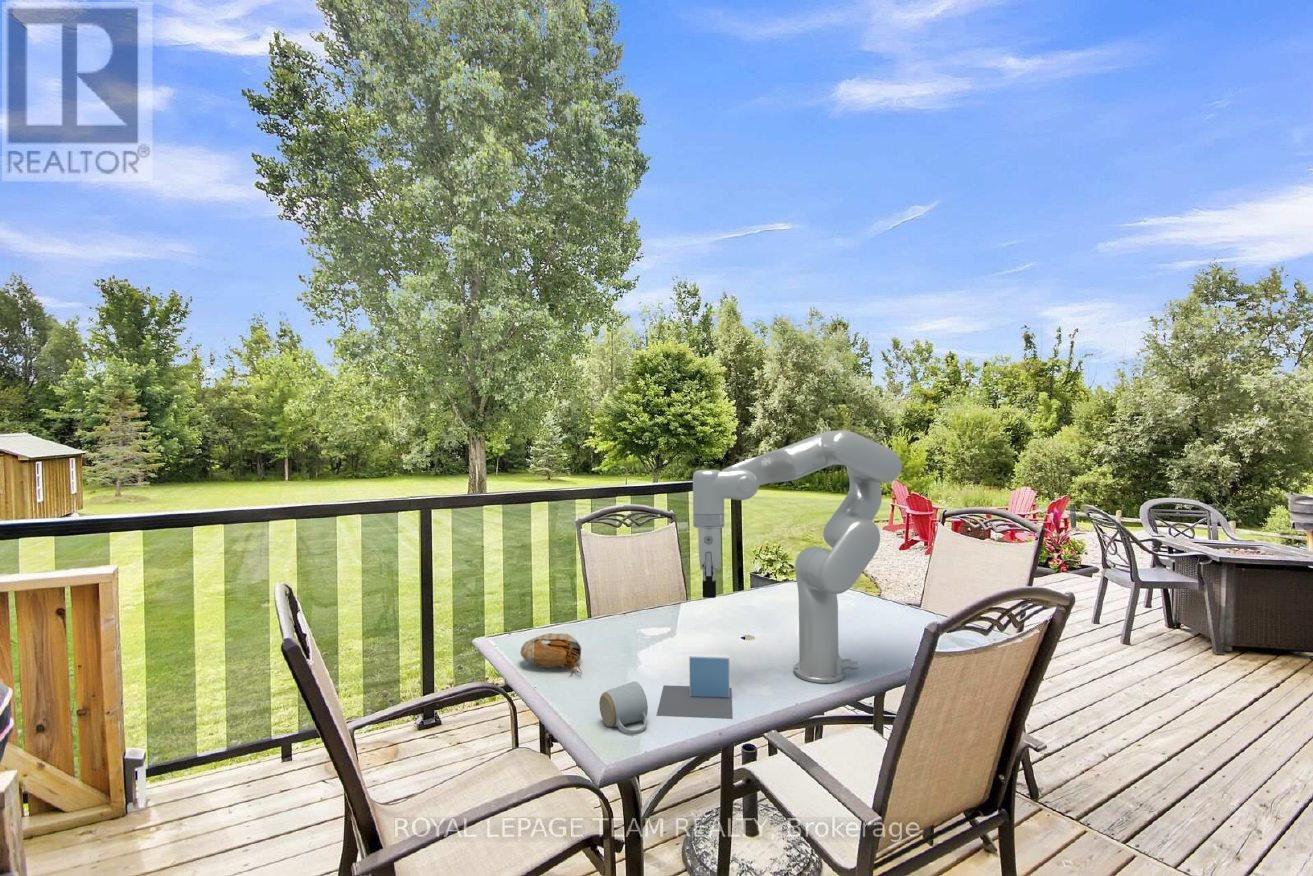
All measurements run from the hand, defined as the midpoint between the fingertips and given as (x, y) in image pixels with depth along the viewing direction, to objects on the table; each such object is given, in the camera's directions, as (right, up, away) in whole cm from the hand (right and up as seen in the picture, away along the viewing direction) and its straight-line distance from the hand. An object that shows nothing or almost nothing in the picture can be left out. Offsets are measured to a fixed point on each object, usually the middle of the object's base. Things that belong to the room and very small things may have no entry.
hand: (709, 596), depth 143 cm
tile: (-1, -20, -8) cm, 22 cm away
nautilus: (-39, -22, +11) cm, 46 cm away
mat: (-4, -21, -11) cm, 24 cm away
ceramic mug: (-19, -21, -21) cm, 35 cm away
